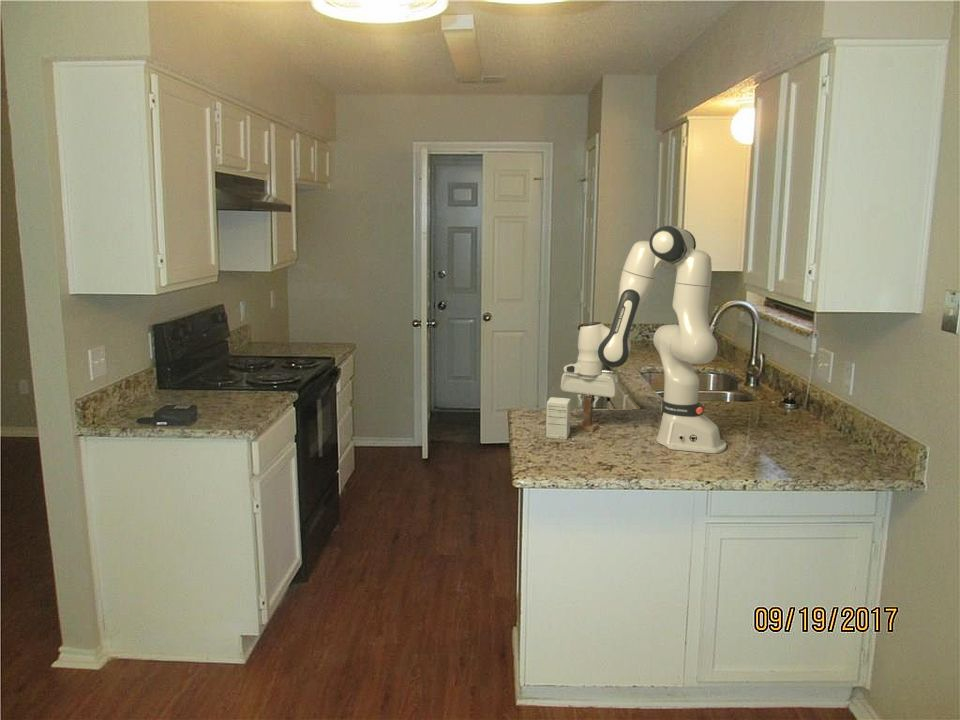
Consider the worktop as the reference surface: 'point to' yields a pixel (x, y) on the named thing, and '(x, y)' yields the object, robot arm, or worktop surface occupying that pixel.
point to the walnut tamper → (587, 416)
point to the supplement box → (558, 418)
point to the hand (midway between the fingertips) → (588, 406)
